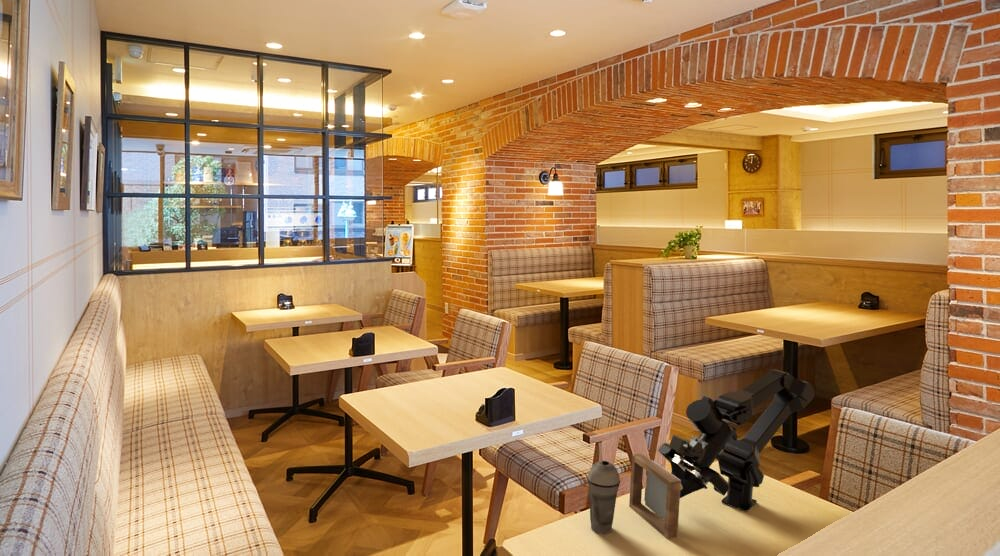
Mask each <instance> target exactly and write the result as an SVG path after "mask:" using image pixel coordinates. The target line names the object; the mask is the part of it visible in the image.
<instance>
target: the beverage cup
mask: <svg viewBox="0 0 1000 556" xmlns="http://www.w3.org/2000/svg"><path fill="white" fill-rule="evenodd" d="M598 450H599V451H598V452H599V453H598V454H599V461H596V462H595V463H594V464H592V465H591V467H590V468H589V470H588V474H587V476H586V480H587V485H588V486H587V487H588V494H589V495H588V496H589V516H590V518H589V520H590V529H591V530H592V531H593V532H594V533H596V534H598V535H599V534H600V535H607V534H610V533H611V532H612V529H613V527H612V526H613V522H614V518H615V517H614V516H615V510H616V509H615V508H616V502H617V497H618V496H617V495H618V491H619V488H620V483H621V479H620V474H619V471H618V469H617V467H616V465H614V464H613V463H612V462H610V461H608V460H603V450H602V442H601V441H600V442H598Z"/></svg>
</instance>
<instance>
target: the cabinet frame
mask: <svg viewBox="0 0 1000 556" xmlns="http://www.w3.org/2000/svg"><path fill="white" fill-rule="evenodd" d="M651 460H652V459H650V458H648V457H647V456H645V455H644V454H642V453H636V454H632V455H631V466H630V467H631V468H630V483H629V484H630V487H629V503H628V507H629V508H630V509H632V510H633V511H634V512H635V513H636V514H637V515H639V516H640V517H641V518H642V520H645V521H646V523H648V524H649V525H651V527H652V528H654V529H655V530H656V531H657V532H658V533H660V534H661V536H662V537H664V538H666V539H667V540H669V539H674V538H677V536H678V527H679V518H678V510H679V511H680V503H679V495H680V480H679V479H677V478H676V477H674V476H673V475H671V474H670V473H671V472H670V473H668V472H669V471H668V470H667V469H666V470H667V471H668V472H667V471H666V470H664V469H665V468H664V467H663V468H664V469H663V468H661V467H662V466H661V465H660V466H661V467H660V466H658V465H659V464H658V463H657V464H658V465H657V464H655V463H654V462H655V461H654V460H653V461H654V462H653V461H651ZM644 470H645V471H646V470H647V471H648V472H650V473H651V474H652V475H654V476H655V477H656V478H658V479H659V480H661V481H662V482H663V483H665V484H666V485H667V495H666V511H665V521H664V520H663V519H662V518H661V517H659V516H658V515H657V514H656V513H655V512H652V510H651V509H650V508H649V507H647V506H646V505H645V504H643V503H642V497H643V496H642V492H643V480H644V478H643V476H644ZM677 526H678V527H677Z"/></svg>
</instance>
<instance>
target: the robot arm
mask: <svg viewBox="0 0 1000 556" xmlns="http://www.w3.org/2000/svg"><path fill="white" fill-rule="evenodd" d="M772 397H773V400H772V402H770V404H769V405H768V407H766V409H765V410H764V411H763V413H762V414H761V415H760V416H759V418H758V419H756V421H755V423H754V424H753V425H752V426H751V427H750V429H748V431H747V432H746V434H745V435H744V436H743V438H741V439H738V434H737V428H736V427H734V426H732V425H730V424H729V423H731V424H734V425H737V426H743V425H745V424H747V422H748V421H749V420H750V419H751V418H752V417H754V410H755V409H756V408H757V407H758V406H760V405H761V404H763V403H764V402H765V401H767V400H769V399H771V398H772ZM814 398H815V389H814V388H813V386H812V384H811V383H810V382H808V381H804V380H802V379H801V380H800V379H798V378H796V377H794V376H793V375H791V374H790V373H789V372H787V371H782V370H779V369H775V368H774V369H769V370H768V371H767V372H766V374H764V375H763V376H762V377H760V378H758V379H757V380H755V381H754V382H752V383H750V384H749V385H748V386H746V387H745V388H743V389H741V390H737V391H729V392H727V393H724V394H721V395H719V396H718V397H717V398H716V399H714V400H713V399H712V398H711V397H709V396H706V395H703V396H702V398H701V399H697V400H694V401H692V402H691V403H689V404H688V406H687V407H686V410H685V414H686V417H687V419H688V420H689V421H690V423H692V424H693V425H694V427H695V428H696V429H697V430H698V431H699V432H700V434H699V435H698V437H696V436H692V437H691V438H689V439H687V438H684V437H682V436H679V435H675V434H672V437H671V439H670V443H667V442H665V443H661V445H660V446H659V447H658V449H657V452H658V453H660V454H661V455H662V456H663V457H664V458H665V459H666V460H667V461H668V463H670V466H671V467H670V468H671V472H670V473H671V474H673V475H674V476H676V477H677V478H679V479H680V480H681V485H682V486H683V489H682V490H680V499H682V498H684V497H685V496H688V495H690V494H692V493H695V492H697V491H700V490H703V489H704V490H707V489H708V486H707V485H708V483H711V484H712V486H713V490H714V491H715V492H717V493H719V494H720V495H721V496H724V497H723V498H722V499H721V503H722V504H724V505H727V506H730V507H733V508H736V509H738V510H742V511H744V512H749V511H750V510H751V509H752V508H753V507H754V506H755V505H756V504H757V500H756V499H754V498H753V491H754V488H760V485H761V484H763V482H764V481H763V480H764V478H765V474H764V473H763V472H762V470H761V469H760V468H759V467H760V465H761V464H760V463H761V462H760V461H761V460H760V459H761V458H760V457H761V456H760V454H761V452H762V451H763V449H765V447H766V446H767V444H768V443H769V442H770V441H771V440H772V439H773V437H774V435H775V434H776V433H777V432H778V430H779V429H780V428H781V426H783V424H784V422H785V421H787V419H788V418H789V416H790V415H791V414H793V413H795V412H798V411H802V410H803V409H805V408H806V407H807V406H808V405H809V404H811V402H812V400H813V399H814ZM728 422H729V423H728ZM715 460H716V461H717V463H718V467H719V472H720V473H719V472H718V471H717V470H714V469H712V468H711V466H712V464H713V463H714V462H715ZM723 476H725V477H728V480H726V479H725V478H724V477H723ZM711 484H710V485H711Z"/></svg>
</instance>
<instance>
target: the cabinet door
mask: <svg viewBox="0 0 1000 556" xmlns="http://www.w3.org/2000/svg"><path fill="white" fill-rule="evenodd" d="M650 460H651V461H653V462H654V463H655V464H657V465H658V466H660V467H661V468H663V469H664V470H666V471H667V472H668V473H670V474H671V472H670V471H669V470H667V469H666V468H664V467H663V466H661V465H660V464H659V463H658V462H656V461H654V460H653V459H650ZM671 475H673V474H671ZM645 476H646V479H645V481H646V482H645V488H644V506H645V507H646V508H648V509H649V510H650V511H651V512H652V511H653V512H652V513H654V514H655V515H656V516H657V517H659V518H660V519H661V520H662V521H663V522H665V511H666V495H667V485H666V484H665V483H663V482H662V481H661V480H659V479H658V478H656V477H655V476H654V475H652V474H651V473H650V472H648V471H647V470H645ZM673 476H674V475H673ZM674 477H676V476H674ZM676 478H677V477H676ZM677 479H679V478H677ZM679 480H680V479H679ZM682 489H683V486H682V485H681V480H680V490H682ZM680 501H681V498H680V495H679V504H680V503H681V502H680ZM679 517H680V509H679V510H678V519H679ZM677 528H679V525H678V526H677Z"/></svg>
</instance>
